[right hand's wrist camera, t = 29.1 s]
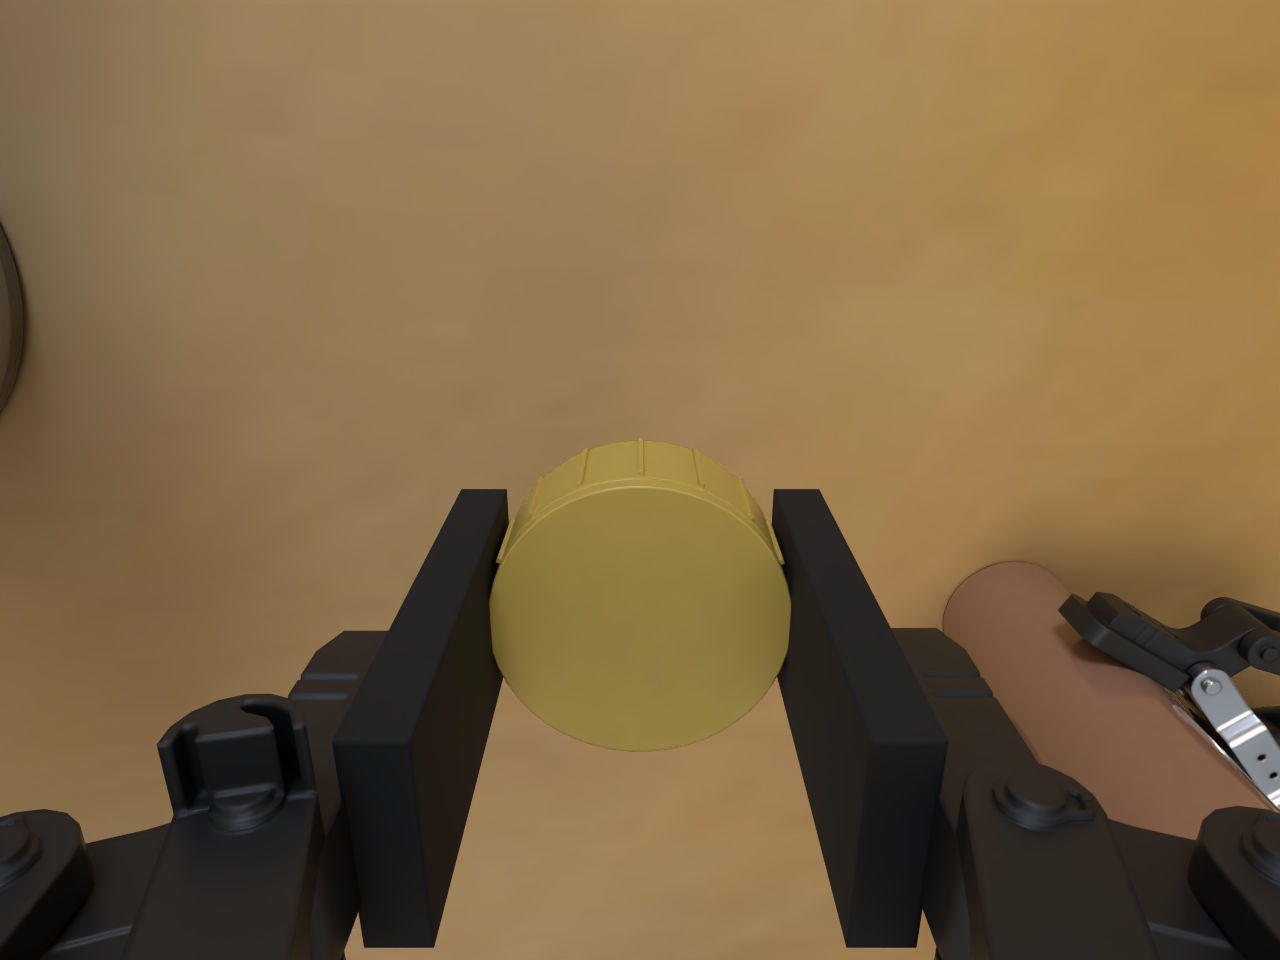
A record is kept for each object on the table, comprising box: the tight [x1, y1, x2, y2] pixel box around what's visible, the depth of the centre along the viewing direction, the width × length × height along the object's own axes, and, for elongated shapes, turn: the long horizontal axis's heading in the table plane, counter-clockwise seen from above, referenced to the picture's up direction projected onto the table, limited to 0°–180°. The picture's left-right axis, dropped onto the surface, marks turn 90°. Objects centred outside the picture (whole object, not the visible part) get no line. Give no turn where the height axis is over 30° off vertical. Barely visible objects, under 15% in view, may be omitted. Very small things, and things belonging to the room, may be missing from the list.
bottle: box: [943, 562, 1280, 840], centre depth 25 cm, size 5×5×22 cm
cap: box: [489, 438, 791, 751], centre depth 14 cm, size 5×5×2 cm
